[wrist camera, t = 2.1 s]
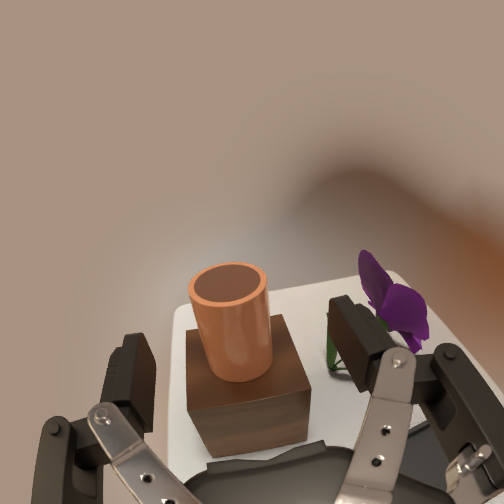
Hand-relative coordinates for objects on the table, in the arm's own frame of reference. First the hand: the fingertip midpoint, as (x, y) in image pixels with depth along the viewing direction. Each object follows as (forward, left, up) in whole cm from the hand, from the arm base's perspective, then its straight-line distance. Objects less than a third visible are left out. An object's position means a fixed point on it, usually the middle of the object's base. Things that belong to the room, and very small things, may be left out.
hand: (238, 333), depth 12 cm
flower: (+24, -1, -25) cm, 34 cm away
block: (+8, +8, -24) cm, 27 cm away
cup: (+8, +8, -13) cm, 17 cm away
